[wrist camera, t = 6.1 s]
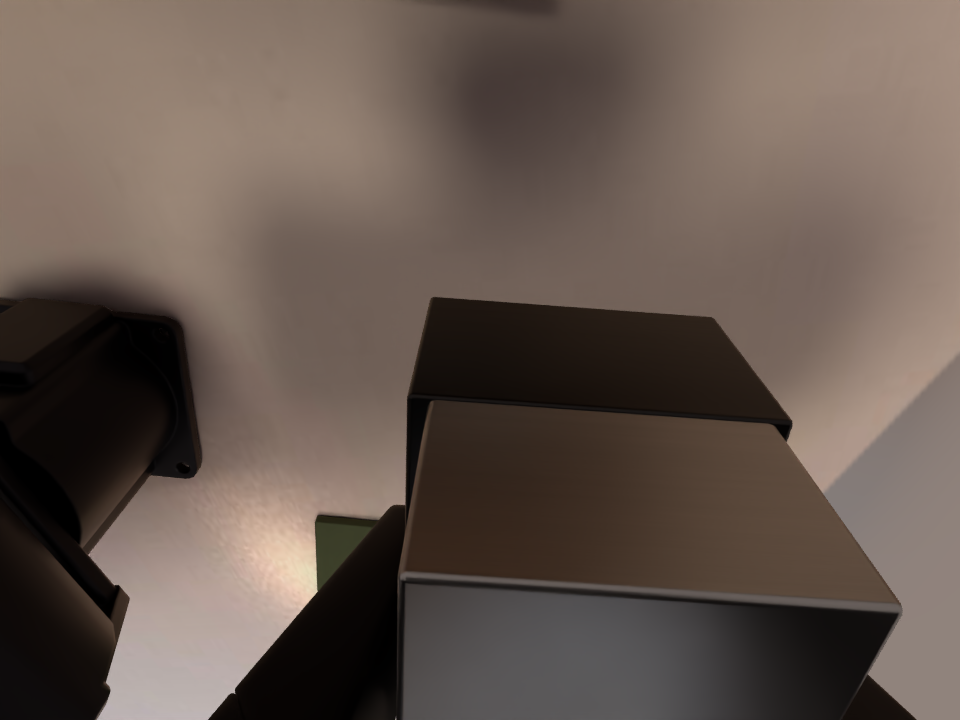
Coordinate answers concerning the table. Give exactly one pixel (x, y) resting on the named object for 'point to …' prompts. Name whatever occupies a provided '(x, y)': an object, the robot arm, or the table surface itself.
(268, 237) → the table surface
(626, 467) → the silver and black block
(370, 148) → the table surface
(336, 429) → the table surface
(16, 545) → the robot arm
